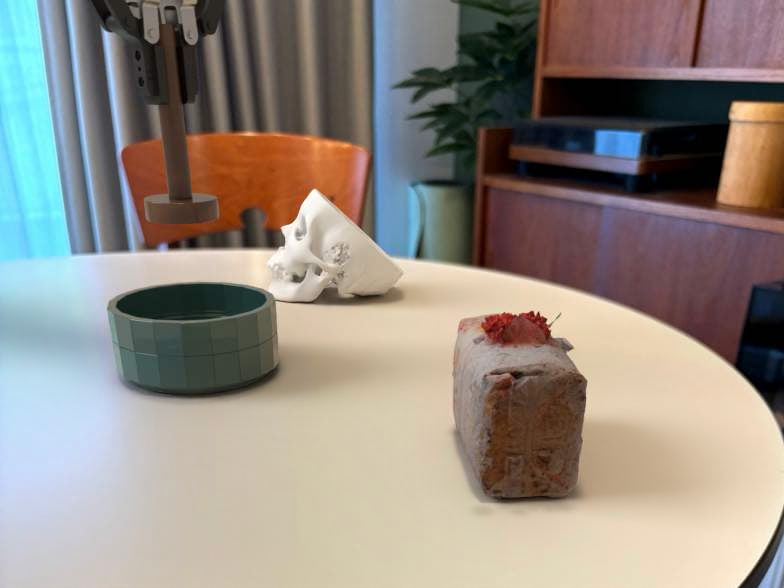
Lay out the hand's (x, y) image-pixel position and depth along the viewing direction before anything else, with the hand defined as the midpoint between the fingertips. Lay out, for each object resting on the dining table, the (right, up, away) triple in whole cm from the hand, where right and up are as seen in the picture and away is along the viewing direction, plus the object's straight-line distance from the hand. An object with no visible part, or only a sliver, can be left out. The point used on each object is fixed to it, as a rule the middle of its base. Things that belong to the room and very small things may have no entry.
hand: (169, 103), depth 61 cm
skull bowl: (+10, -4, +34) cm, 35 cm away
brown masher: (0, -7, +4) cm, 8 cm away
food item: (+25, -27, -4) cm, 37 cm away
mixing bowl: (0, -18, +10) cm, 20 cm away
